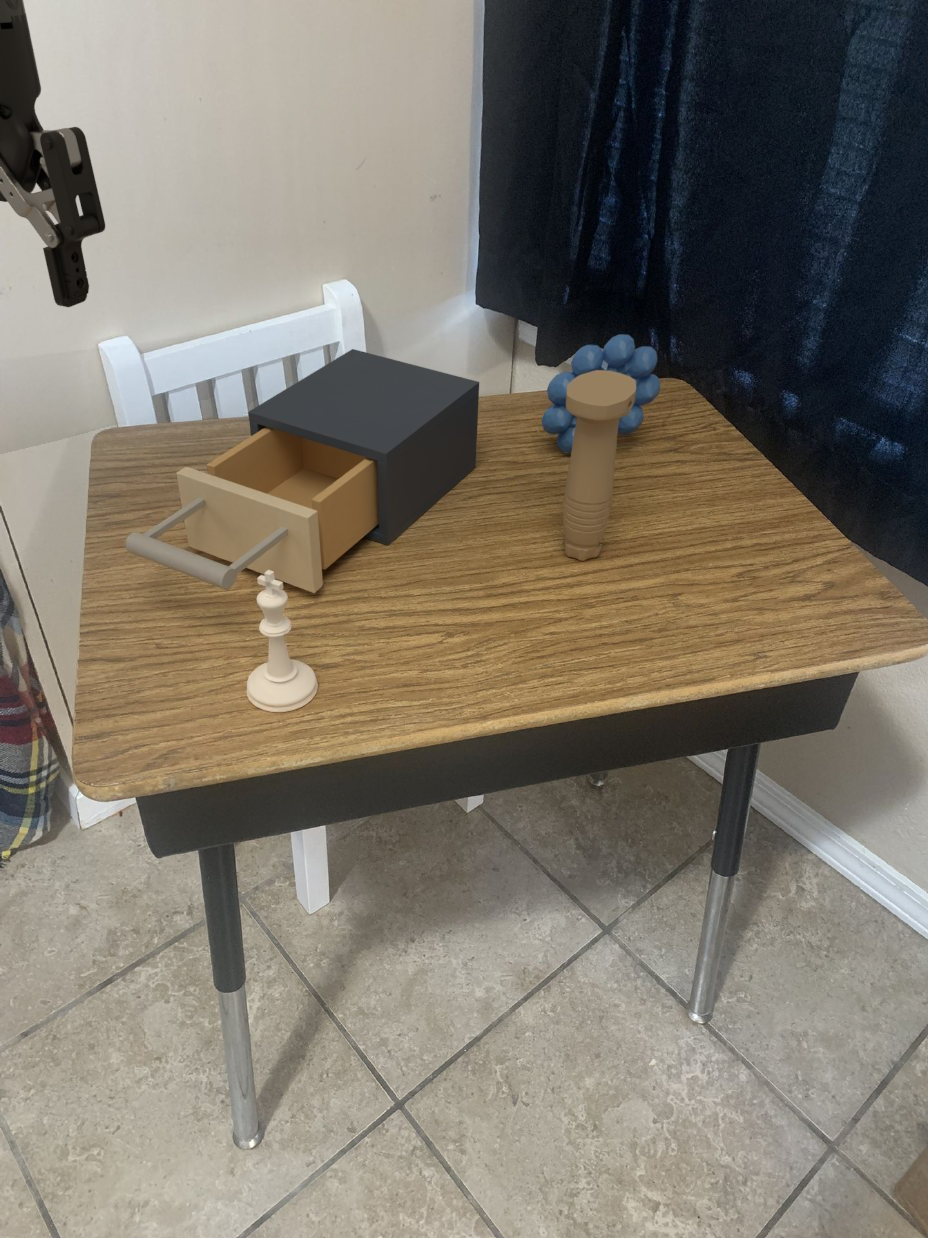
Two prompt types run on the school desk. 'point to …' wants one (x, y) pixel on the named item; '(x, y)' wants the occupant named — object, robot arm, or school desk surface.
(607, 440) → the handle
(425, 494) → the cabinet
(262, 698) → the chess piece
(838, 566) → the school desk surface
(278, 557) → the drawer
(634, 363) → the grapes
